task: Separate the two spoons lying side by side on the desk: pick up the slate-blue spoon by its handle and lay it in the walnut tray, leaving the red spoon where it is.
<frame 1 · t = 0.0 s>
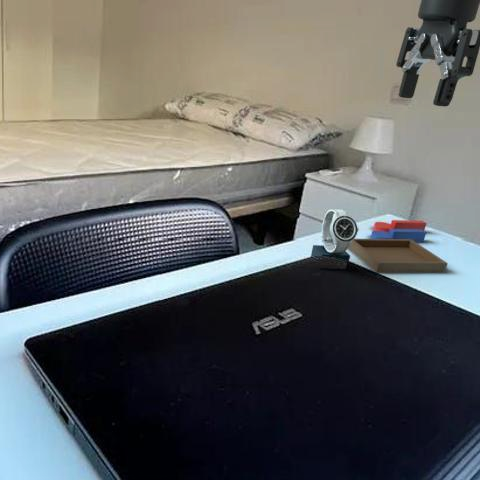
hand: (422, 101, 77), 32 cm above the table, tool pointing down, fingers open, 8 cm apart
watch: (328, 266, 96), on the table
tray: (393, 259, 101), on the table
blue spoon: (394, 241, 111), on the table
red spoon: (396, 231, 116), on the table
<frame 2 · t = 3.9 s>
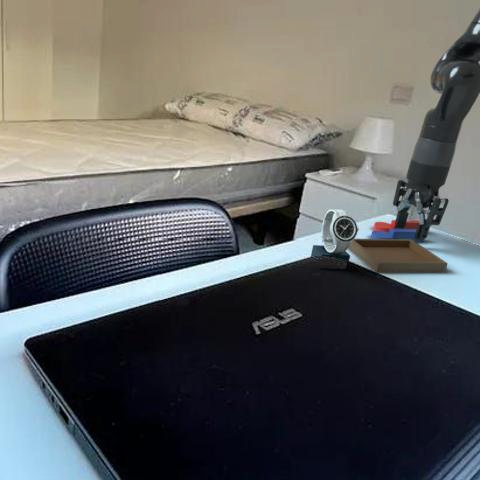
hand: (408, 233, 110), 2 cm above the table, tool pointing down, fingers open, 6 cm apart
nothing on the table moved.
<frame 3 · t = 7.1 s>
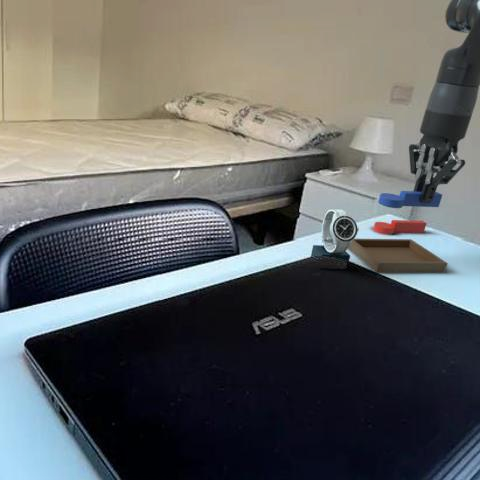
hand: (421, 200, 97), 12 cm above the table, tool pointing down, fingers closed on blue spoon
blue spoon: (406, 205, 97), point 11 cm above the table, touching gripper
everything else where it was.
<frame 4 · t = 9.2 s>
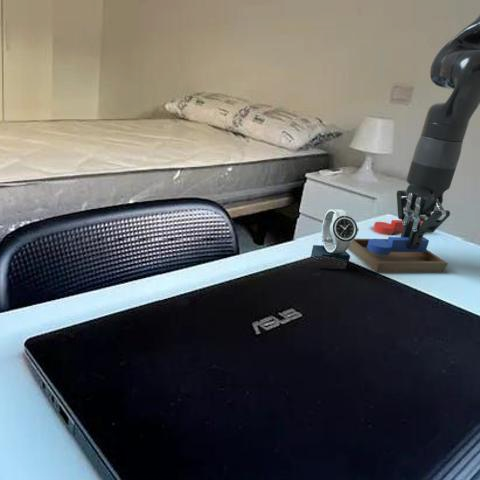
hand: (408, 245, 100), 3 cm above the table, tool pointing down, fingers closed on blue spoon
blue spoon: (394, 250, 100), point 2 cm above the table, touching gripper
everything else where it was.
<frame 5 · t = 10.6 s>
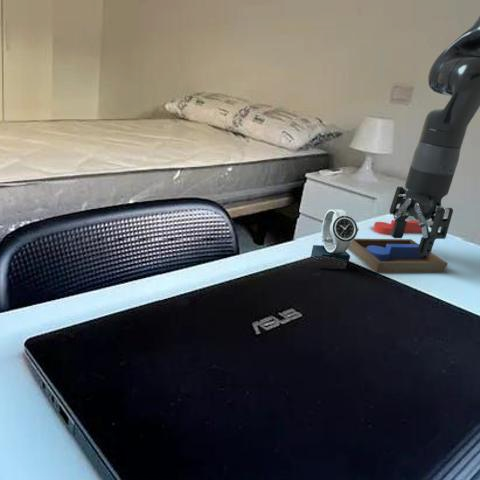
hand: (408, 246, 100), 3 cm above the table, tool pointing down, fingers open, 8 cm apart
blue spoon: (392, 257, 101), point 1 cm above the table, touching tray
everything else where it was.
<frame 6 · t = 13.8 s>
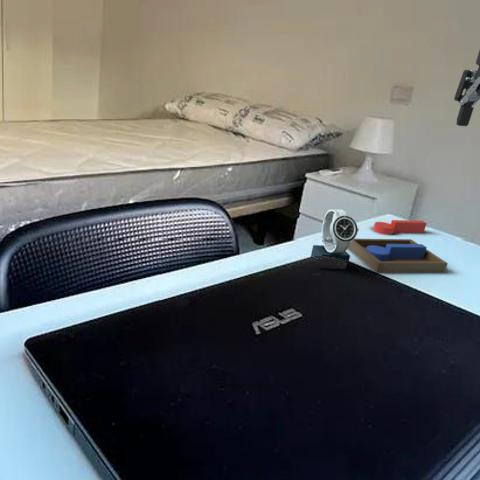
hand: (477, 129, 96), 26 cm above the table, tool pointing down, fingers open, 8 cm apart
nothing on the table moved.
at the end: blue spoon inside the target area in the tray (0.5 cm from its centre), point 0.6 cm above the tray's base; red spoon moved 0.0 cm from its start; the gripper is holding nothing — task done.
